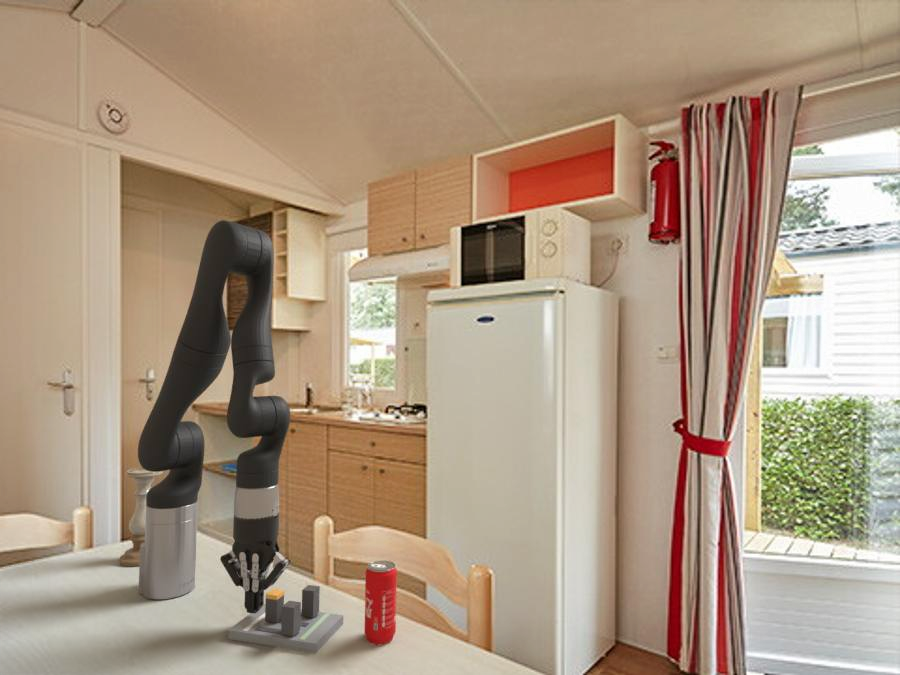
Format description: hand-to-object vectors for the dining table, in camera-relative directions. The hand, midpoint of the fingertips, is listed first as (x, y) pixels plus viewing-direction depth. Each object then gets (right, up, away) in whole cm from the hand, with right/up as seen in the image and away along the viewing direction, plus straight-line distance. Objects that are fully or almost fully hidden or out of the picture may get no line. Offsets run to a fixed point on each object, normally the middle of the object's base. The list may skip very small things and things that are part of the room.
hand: (254, 611), depth 96 cm
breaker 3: (+10, -1, +1) cm, 10 cm away
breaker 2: (+8, -1, -5) cm, 10 cm away
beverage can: (+22, -3, -3) cm, 23 cm away
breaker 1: (+4, -1, -1) cm, 4 cm away
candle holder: (-36, -3, +30) cm, 47 cm away
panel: (+6, -3, -2) cm, 7 cm away
